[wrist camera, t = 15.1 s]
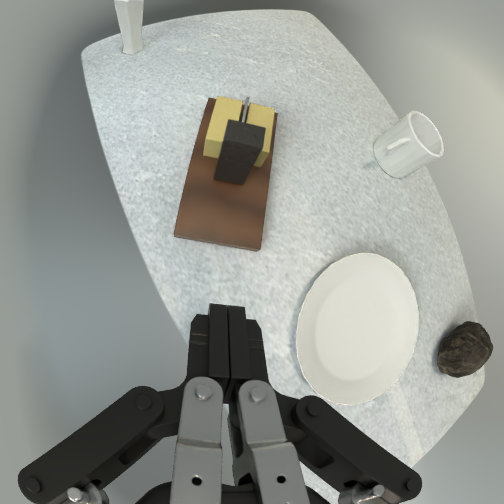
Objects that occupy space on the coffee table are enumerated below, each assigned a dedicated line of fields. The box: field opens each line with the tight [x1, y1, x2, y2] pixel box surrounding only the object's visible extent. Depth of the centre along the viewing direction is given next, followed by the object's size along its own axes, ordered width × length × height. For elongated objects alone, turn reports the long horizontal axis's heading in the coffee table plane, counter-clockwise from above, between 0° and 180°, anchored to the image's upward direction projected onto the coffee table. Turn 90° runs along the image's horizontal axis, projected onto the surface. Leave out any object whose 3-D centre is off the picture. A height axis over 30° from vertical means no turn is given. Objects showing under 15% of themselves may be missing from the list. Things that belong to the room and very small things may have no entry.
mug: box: [374, 111, 444, 178], centre depth 36 cm, size 8×12×10 cm, turn 116°
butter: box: [203, 96, 275, 167], centre depth 31 cm, size 7×7×4 cm
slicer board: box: [174, 98, 278, 251], centre depth 33 cm, size 20×10×2 cm, turn 172°
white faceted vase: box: [114, 0, 144, 55], centre depth 27 cm, size 5×4×15 cm
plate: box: [296, 252, 419, 405], centre depth 34 cm, size 21×21×2 cm
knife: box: [213, 97, 266, 185], centre depth 28 cm, size 10×4×9 cm, turn 172°
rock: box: [437, 321, 493, 378], centre depth 35 cm, size 10×11×10 cm
